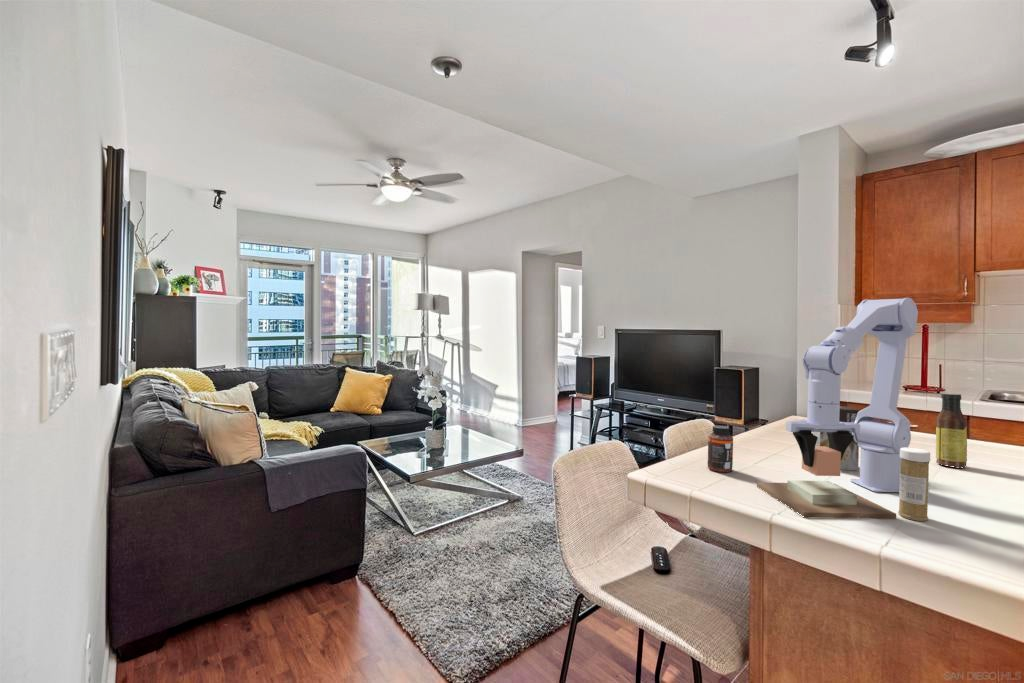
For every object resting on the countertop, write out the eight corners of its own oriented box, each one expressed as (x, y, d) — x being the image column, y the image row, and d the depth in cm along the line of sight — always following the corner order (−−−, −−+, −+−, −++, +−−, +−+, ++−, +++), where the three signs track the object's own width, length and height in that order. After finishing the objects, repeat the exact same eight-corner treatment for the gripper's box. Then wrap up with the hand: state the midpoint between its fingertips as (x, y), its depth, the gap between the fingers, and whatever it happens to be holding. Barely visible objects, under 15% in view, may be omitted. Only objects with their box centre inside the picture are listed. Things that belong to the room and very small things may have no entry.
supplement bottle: (735, 474, 121) (736, 429, 120) (710, 472, 122) (711, 428, 121) (729, 467, 126) (730, 424, 126) (705, 465, 128) (706, 423, 127)
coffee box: (849, 464, 131) (851, 406, 130) (858, 471, 124) (861, 410, 124) (811, 461, 133) (813, 404, 133) (818, 467, 127) (820, 407, 127)
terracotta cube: (824, 468, 104) (825, 446, 104) (840, 476, 99) (841, 452, 99) (801, 468, 105) (802, 445, 104) (816, 475, 100) (817, 451, 99)
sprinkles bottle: (931, 518, 93) (933, 450, 93) (923, 523, 91) (926, 453, 90) (902, 511, 97) (904, 445, 97) (893, 515, 94) (896, 448, 94)
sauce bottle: (973, 469, 127) (976, 395, 127) (949, 469, 127) (952, 395, 127) (950, 462, 134) (953, 392, 133) (928, 462, 134) (931, 391, 133)
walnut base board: (834, 487, 111) (834, 475, 111) (896, 518, 93) (896, 503, 93) (756, 486, 111) (757, 473, 111) (803, 517, 93) (804, 502, 93)
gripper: (844, 399, 105) (842, 460, 106) (778, 398, 105) (777, 459, 106) (868, 405, 98) (866, 470, 99) (797, 404, 98) (795, 469, 99)
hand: (821, 465), depth 102 cm, fingers closed on terracotta cube, 5 cm apart
